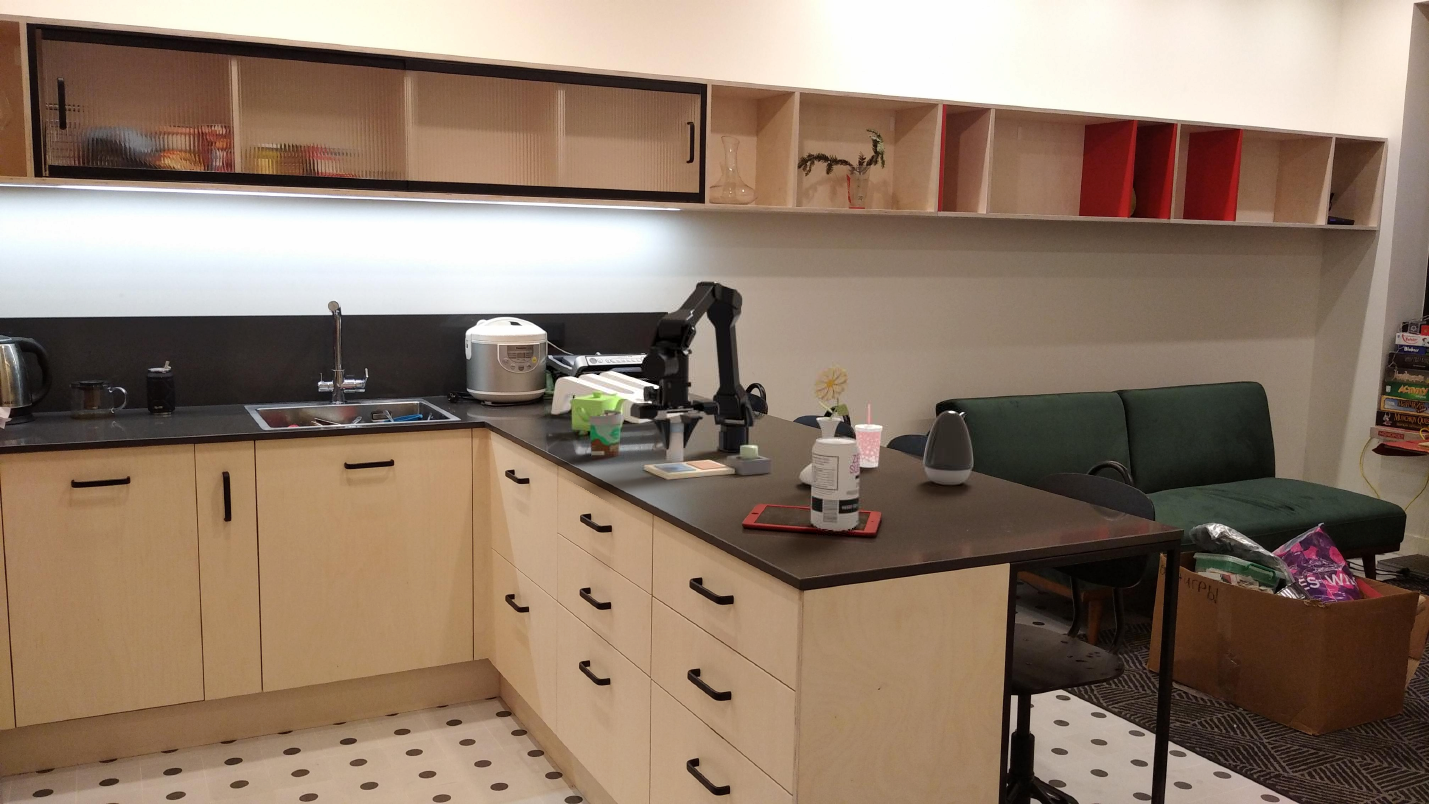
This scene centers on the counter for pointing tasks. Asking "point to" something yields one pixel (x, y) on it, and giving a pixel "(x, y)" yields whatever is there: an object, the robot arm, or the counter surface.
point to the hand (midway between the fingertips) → (674, 448)
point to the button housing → (749, 465)
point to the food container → (605, 434)
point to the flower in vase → (826, 389)
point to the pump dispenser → (948, 450)
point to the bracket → (604, 384)
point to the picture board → (689, 469)
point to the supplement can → (835, 483)
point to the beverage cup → (868, 442)
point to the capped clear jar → (675, 442)
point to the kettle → (592, 409)
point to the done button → (748, 452)
